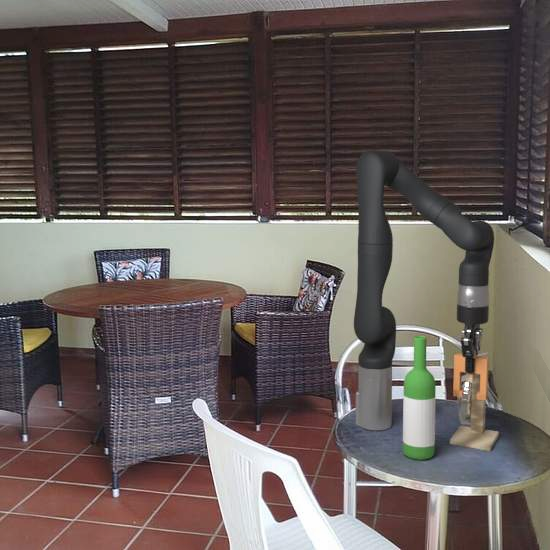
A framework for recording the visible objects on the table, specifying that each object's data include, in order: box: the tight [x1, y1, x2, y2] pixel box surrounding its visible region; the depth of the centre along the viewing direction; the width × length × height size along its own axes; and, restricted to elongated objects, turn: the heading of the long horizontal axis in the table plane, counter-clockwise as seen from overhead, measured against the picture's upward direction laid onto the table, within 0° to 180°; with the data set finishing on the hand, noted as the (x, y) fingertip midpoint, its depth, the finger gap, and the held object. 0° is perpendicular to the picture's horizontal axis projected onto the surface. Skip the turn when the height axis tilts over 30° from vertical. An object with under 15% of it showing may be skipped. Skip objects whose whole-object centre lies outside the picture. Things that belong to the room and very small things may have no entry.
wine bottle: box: [402, 335, 437, 461], centre depth 163 cm, size 8×8×30 cm
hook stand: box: [449, 372, 500, 452], centre depth 171 cm, size 10×14×20 cm
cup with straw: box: [456, 351, 489, 427], centre depth 184 cm, size 8×9×20 cm
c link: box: [452, 353, 490, 402], centre depth 166 cm, size 8×2×10 cm, turn 61°
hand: (470, 370), depth 165 cm, fingers closed on c link, 2 cm apart
